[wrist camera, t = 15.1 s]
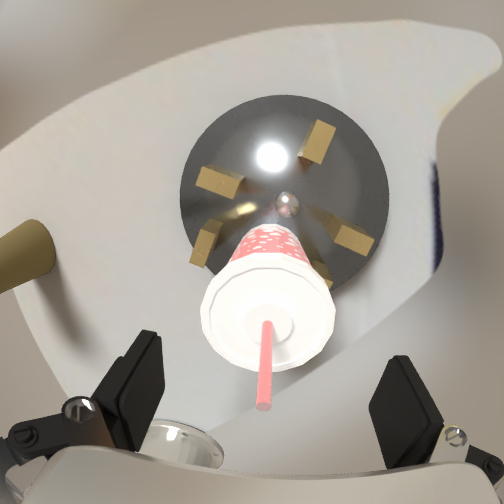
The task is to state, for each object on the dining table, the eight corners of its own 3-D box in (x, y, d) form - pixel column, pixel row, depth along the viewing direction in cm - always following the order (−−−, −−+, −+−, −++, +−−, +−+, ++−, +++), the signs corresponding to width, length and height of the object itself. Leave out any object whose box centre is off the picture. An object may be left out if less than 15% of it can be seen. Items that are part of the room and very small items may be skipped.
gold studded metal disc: (228, 71, 19) (217, 52, 14) (410, 153, 20) (439, 156, 15) (163, 250, 24) (140, 272, 19) (329, 315, 25) (338, 347, 20)
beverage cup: (257, 195, 20) (226, 283, 7) (329, 243, 21) (400, 380, 8) (212, 265, 22) (142, 409, 9) (280, 306, 23) (284, 468, 10)
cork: (60, 276, 26) (-10, 329, 15) (25, 271, 26) (-41, 315, 16) (50, 218, 24) (-32, 257, 13) (15, 219, 24) (-59, 253, 14)
